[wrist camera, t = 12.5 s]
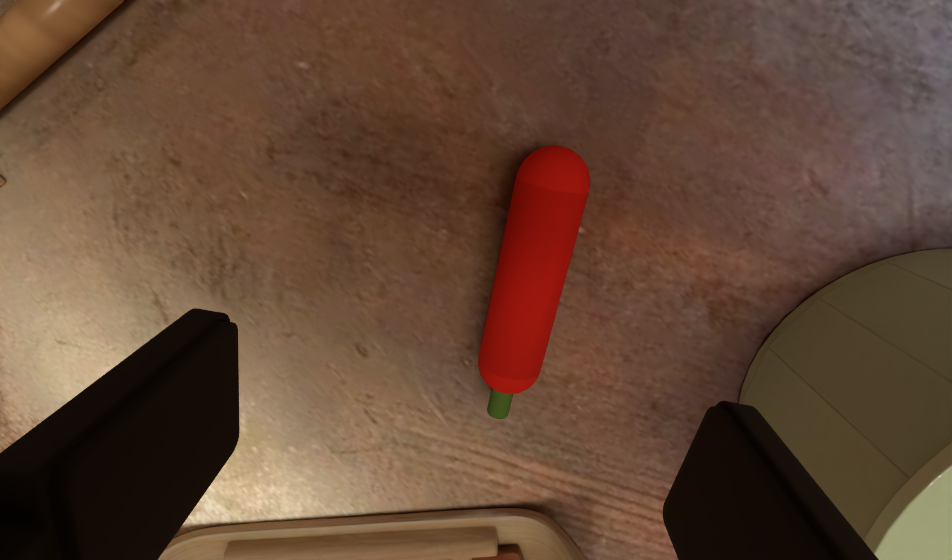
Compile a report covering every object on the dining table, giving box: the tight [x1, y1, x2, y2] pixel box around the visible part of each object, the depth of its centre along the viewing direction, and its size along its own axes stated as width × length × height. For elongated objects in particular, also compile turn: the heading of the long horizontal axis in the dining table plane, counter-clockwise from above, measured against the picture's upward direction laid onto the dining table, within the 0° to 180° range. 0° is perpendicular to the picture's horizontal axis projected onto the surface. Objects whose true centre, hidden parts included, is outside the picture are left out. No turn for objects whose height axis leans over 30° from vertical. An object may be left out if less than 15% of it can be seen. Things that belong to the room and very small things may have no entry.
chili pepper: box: [478, 145, 590, 419], centre depth 20 cm, size 12×3×3 cm
